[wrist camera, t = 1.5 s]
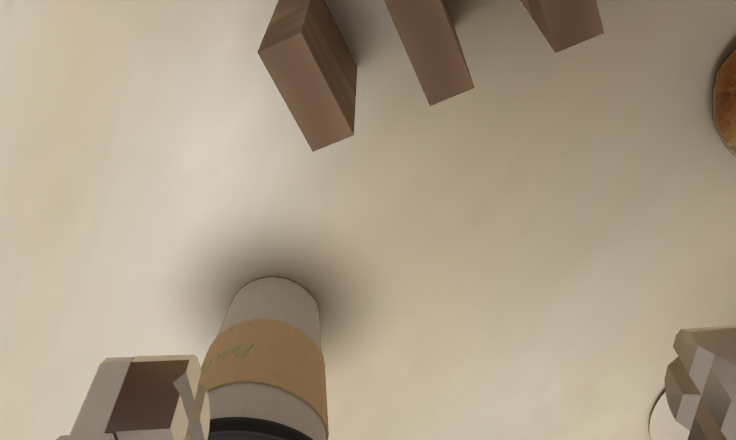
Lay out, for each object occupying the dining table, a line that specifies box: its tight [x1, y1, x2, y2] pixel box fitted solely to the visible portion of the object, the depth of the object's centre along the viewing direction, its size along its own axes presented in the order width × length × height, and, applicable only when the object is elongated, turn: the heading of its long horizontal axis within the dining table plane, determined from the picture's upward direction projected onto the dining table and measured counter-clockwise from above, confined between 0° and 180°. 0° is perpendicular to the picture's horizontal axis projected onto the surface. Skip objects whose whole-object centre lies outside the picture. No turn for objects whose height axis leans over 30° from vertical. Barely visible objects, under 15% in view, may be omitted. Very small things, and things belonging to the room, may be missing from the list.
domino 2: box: [384, 0, 474, 106], centre depth 31 cm, size 2×5×8 cm, turn 24°
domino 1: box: [258, 0, 357, 151], centre depth 32 cm, size 2×5×8 cm, turn 24°
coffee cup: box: [199, 277, 329, 440], centre depth 40 cm, size 9×9×15 cm
